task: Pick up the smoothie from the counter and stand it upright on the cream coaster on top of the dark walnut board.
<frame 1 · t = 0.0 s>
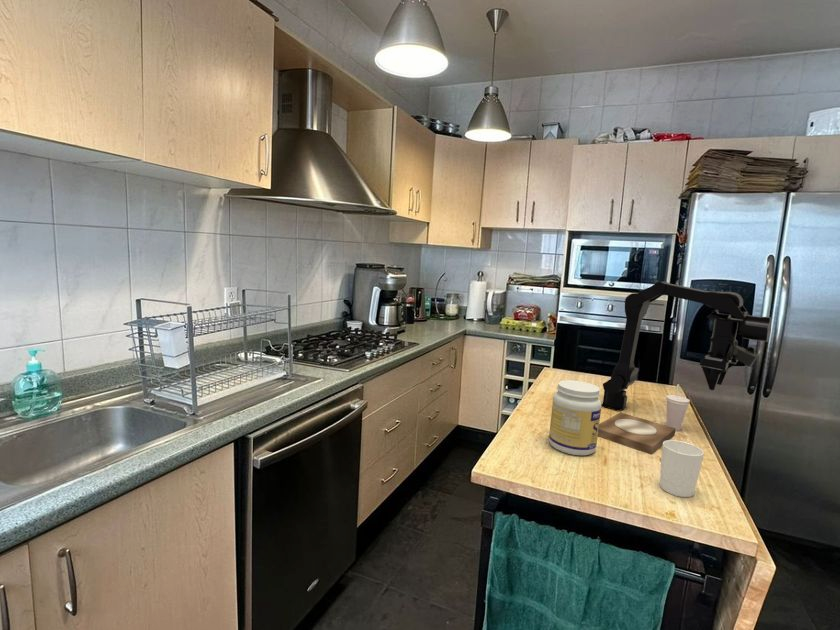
hand: (715, 387, 134), 15 cm above the counter, tool pointing down, fingers open, 9 cm apart
white cup: (676, 490, 101), on the counter
supplement tub: (571, 447, 121), on the counter
smoothie: (673, 429, 139), on the counter
walnut base: (634, 434, 132), on the counter
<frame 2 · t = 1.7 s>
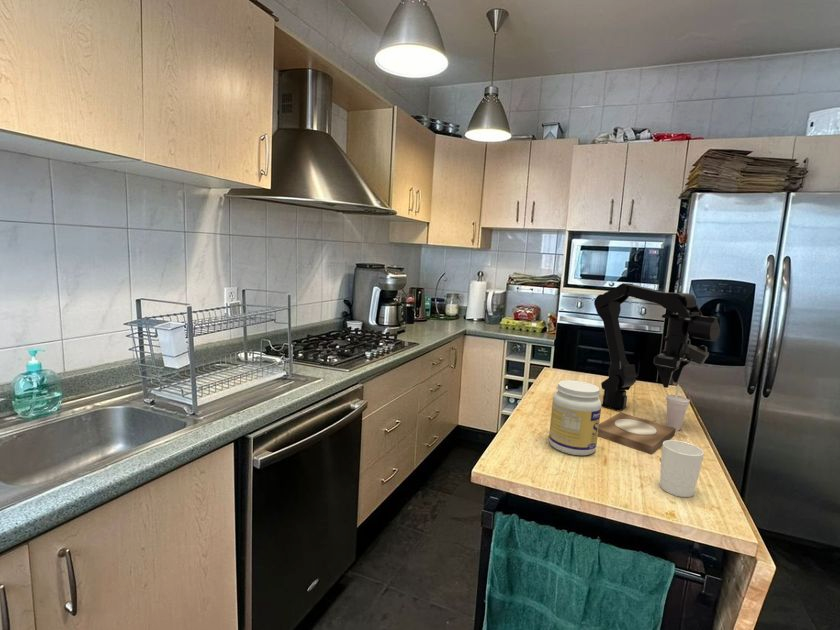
hand: (670, 384, 138), 13 cm above the counter, tool pointing down, fingers open, 9 cm apart
nothing on the counter moved.
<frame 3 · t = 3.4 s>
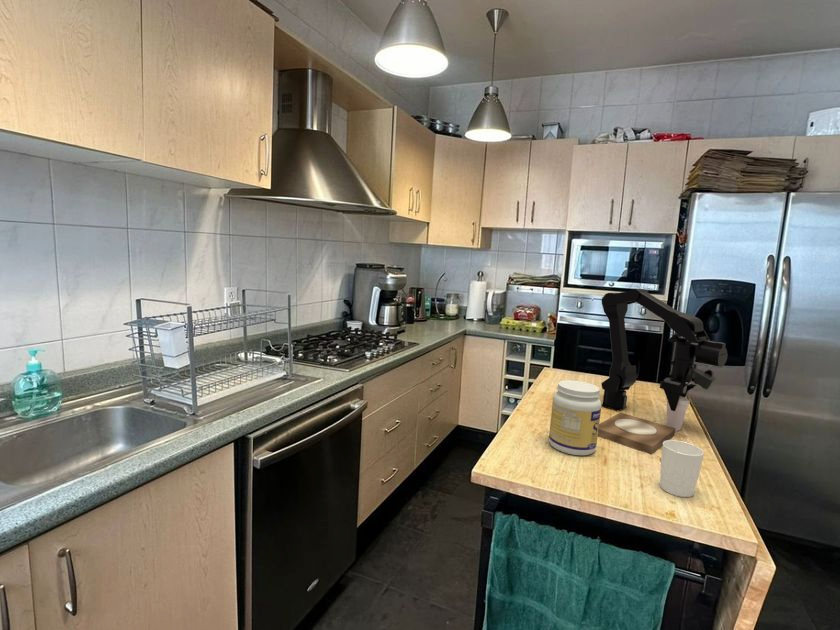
hand: (676, 408, 138), 6 cm above the counter, tool pointing down, fingers closed on smoothie, 6 cm apart
smoothie: (673, 429, 139), on the counter, touching gripper
everything else where it was.
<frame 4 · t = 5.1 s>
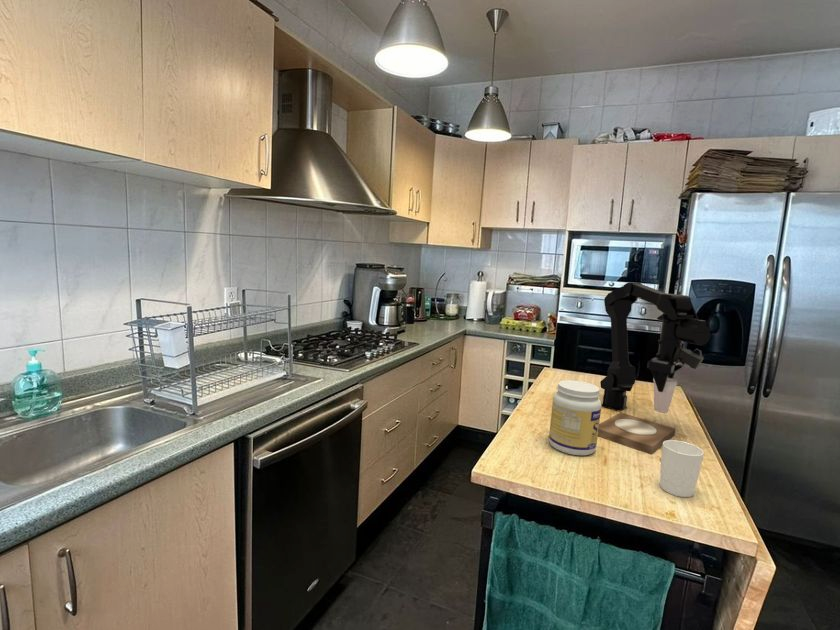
hand: (663, 389, 134), 13 cm above the counter, tool pointing down, fingers closed on smoothie, 6 cm apart
smoothie: (660, 411, 135), point 6 cm above the counter, touching gripper
everything else where it was.
when the fingers open (11 cm above the counter, at t = 6.7 s): smoothie drops 1 cm, resting on walnut base.
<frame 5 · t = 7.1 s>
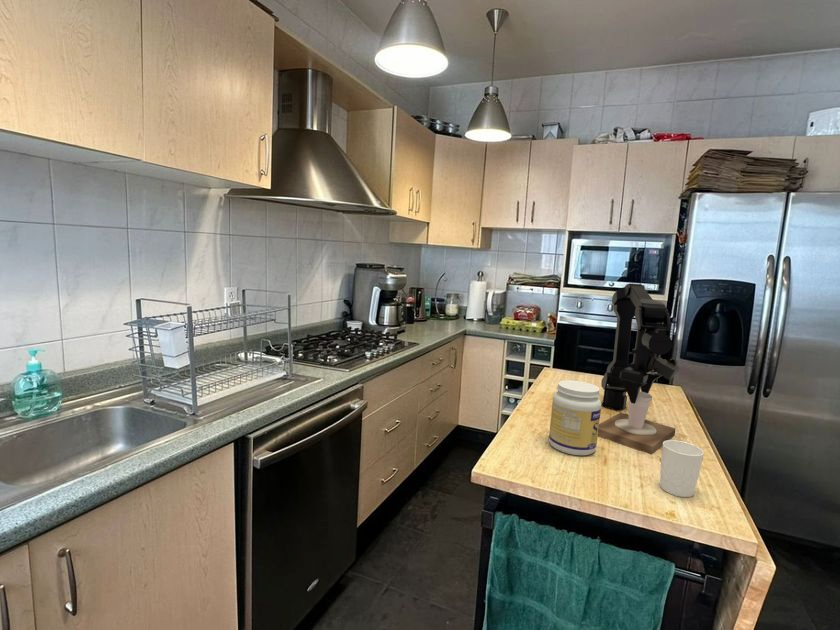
hand: (638, 400, 130), 11 cm above the counter, tool pointing down, fingers open, 9 cm apart
smoothie: (635, 426, 131), point 3 cm above the counter, touching walnut base
everything else where it was.
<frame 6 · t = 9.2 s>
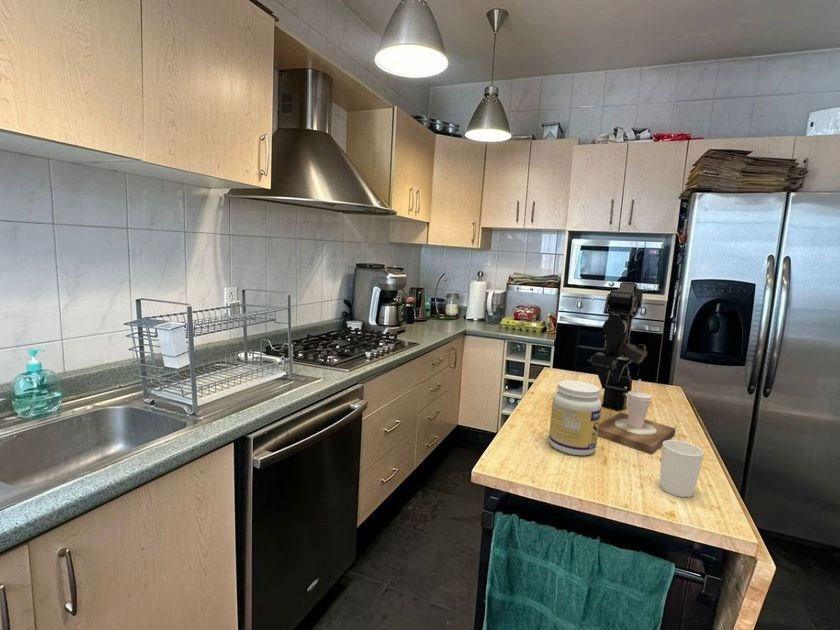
hand: (610, 384, 136), 13 cm above the counter, tool pointing down, fingers open, 9 cm apart
nothing on the counter moved.
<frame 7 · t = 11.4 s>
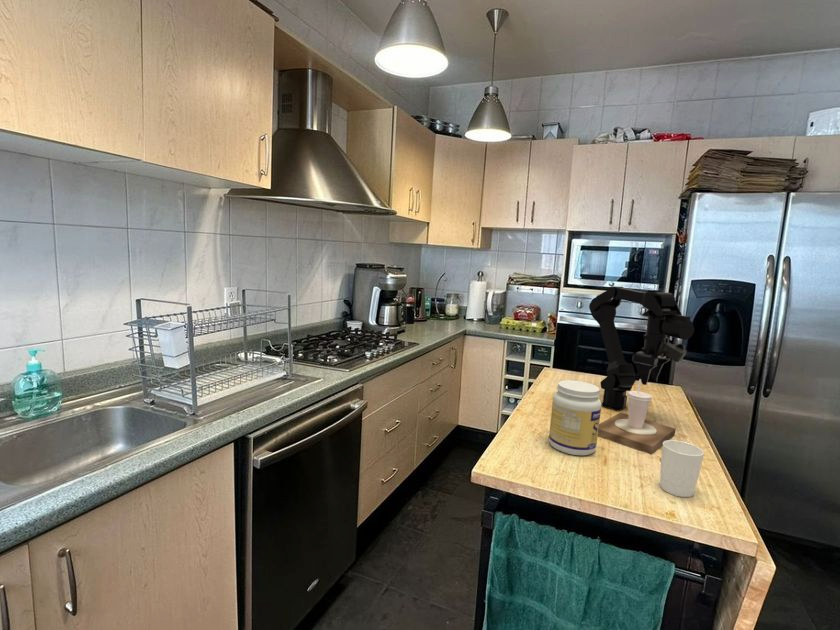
hand: (649, 382, 141), 13 cm above the counter, tool pointing down, fingers open, 9 cm apart
nothing on the counter moved.
at the end: smoothie inside the target area on the walnut base (0.0 cm from its centre), point 2.5 cm above the walnut base's base; smoothie tilted 0°; the gripper is holding nothing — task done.
